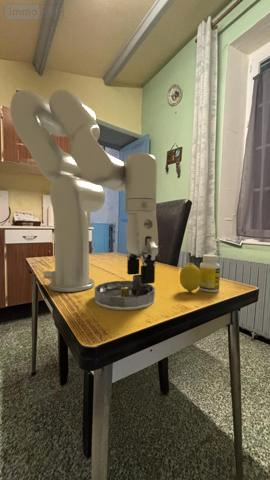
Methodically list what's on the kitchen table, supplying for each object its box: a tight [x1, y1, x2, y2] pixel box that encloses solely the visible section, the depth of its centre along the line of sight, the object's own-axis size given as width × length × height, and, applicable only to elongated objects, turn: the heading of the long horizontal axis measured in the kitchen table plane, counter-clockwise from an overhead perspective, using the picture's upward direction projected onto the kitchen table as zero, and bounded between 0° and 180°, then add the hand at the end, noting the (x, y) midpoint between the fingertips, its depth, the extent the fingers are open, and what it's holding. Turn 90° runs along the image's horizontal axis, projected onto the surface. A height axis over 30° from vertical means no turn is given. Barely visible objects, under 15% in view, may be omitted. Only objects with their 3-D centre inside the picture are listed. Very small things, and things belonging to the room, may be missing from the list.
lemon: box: [179, 262, 201, 293], centre depth 58 cm, size 6×6×8 cm
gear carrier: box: [94, 280, 156, 312], centre depth 52 cm, size 14×14×5 cm
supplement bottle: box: [198, 254, 221, 293], centre depth 61 cm, size 5×5×10 cm
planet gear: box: [131, 274, 148, 296], centre depth 53 cm, size 4×4×4 cm
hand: (139, 278), depth 53 cm, fingers open, 9 cm apart
